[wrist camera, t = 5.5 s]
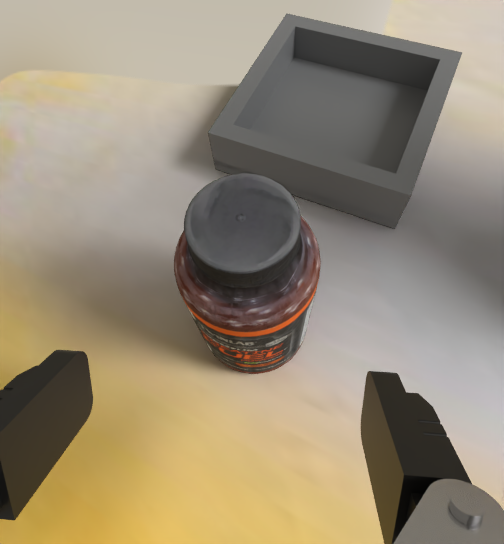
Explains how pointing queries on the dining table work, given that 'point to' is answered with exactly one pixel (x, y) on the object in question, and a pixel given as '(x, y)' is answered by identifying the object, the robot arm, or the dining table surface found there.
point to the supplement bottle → (248, 271)
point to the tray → (336, 116)
